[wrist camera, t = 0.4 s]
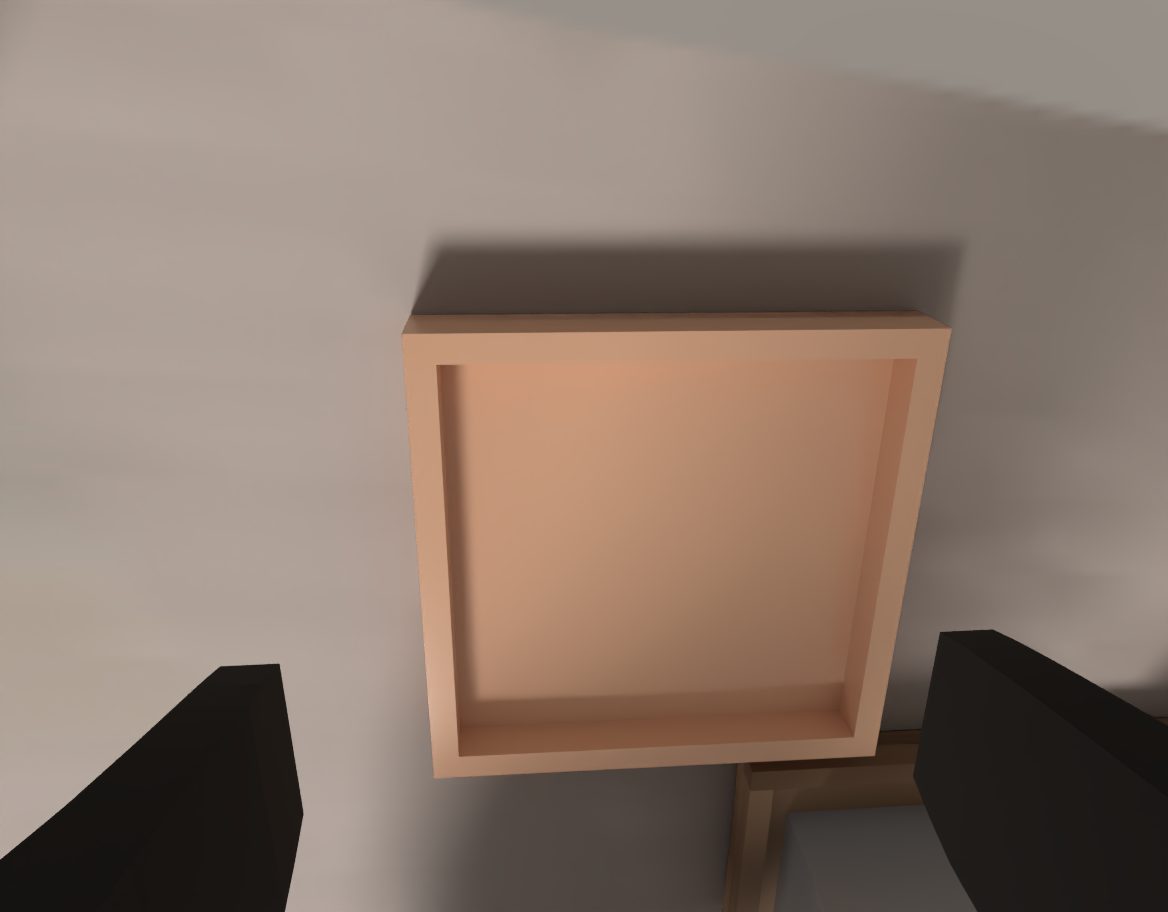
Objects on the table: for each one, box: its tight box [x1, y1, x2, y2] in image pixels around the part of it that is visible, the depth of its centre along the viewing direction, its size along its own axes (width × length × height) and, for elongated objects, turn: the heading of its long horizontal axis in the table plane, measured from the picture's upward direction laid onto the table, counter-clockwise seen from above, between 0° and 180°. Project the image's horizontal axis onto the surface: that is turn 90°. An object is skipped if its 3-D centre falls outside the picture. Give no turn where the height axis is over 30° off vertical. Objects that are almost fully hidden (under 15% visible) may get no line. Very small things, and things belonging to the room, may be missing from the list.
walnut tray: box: [722, 718, 1168, 912], centre depth 24 cm, size 8×15×1 cm, turn 89°
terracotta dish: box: [402, 311, 952, 778], centre depth 19 cm, size 11×11×2 cm
